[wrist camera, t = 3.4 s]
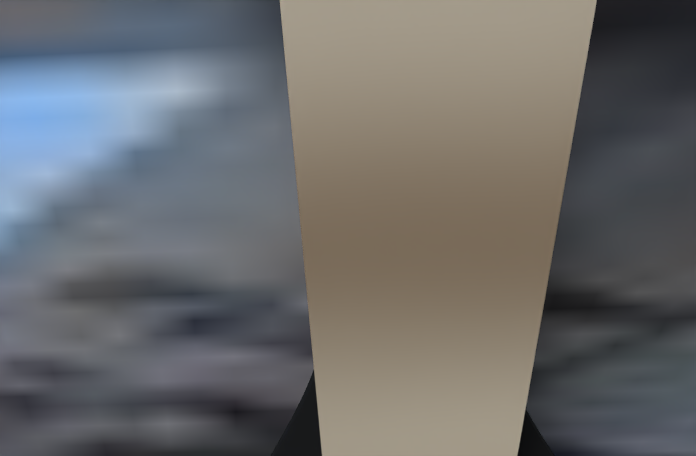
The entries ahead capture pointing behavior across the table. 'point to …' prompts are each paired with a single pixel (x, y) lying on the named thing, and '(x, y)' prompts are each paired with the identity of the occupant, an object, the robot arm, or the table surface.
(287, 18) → the push stick
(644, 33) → the table surface
